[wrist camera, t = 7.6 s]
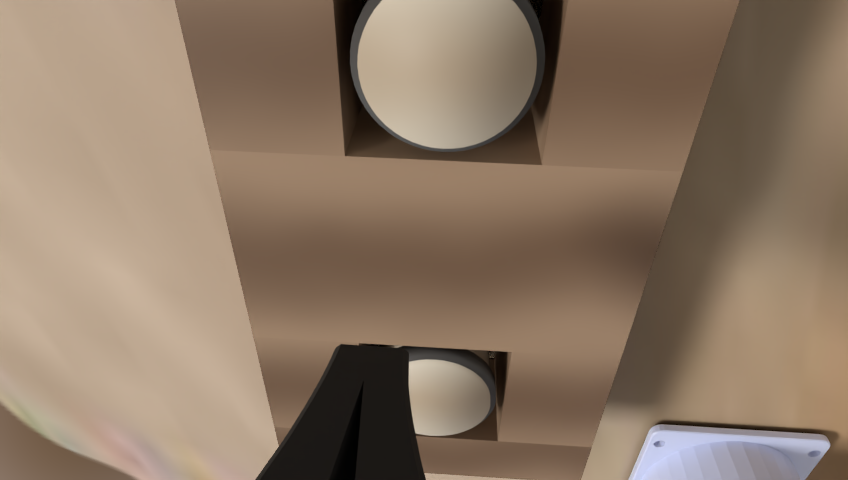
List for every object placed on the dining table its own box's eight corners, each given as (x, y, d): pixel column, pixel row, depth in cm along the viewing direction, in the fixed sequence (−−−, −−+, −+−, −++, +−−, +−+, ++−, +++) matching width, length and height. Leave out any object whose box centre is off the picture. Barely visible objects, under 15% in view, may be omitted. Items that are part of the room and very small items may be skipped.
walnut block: (566, 400, 27) (579, 483, 24) (304, 384, 27) (283, 463, 24) (728, -209, 13) (807, -204, 10) (203, -220, 14) (123, -218, 11)
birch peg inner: (488, 362, 25) (490, 442, 22) (384, 356, 25) (372, 435, 22) (497, 285, 22) (502, 364, 19) (381, 278, 22) (367, 356, 19)
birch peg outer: (521, 94, 18) (532, 160, 15) (373, 88, 18) (354, 151, 15) (542, -70, 15) (560, -33, 12) (367, -76, 15) (341, -40, 12)
